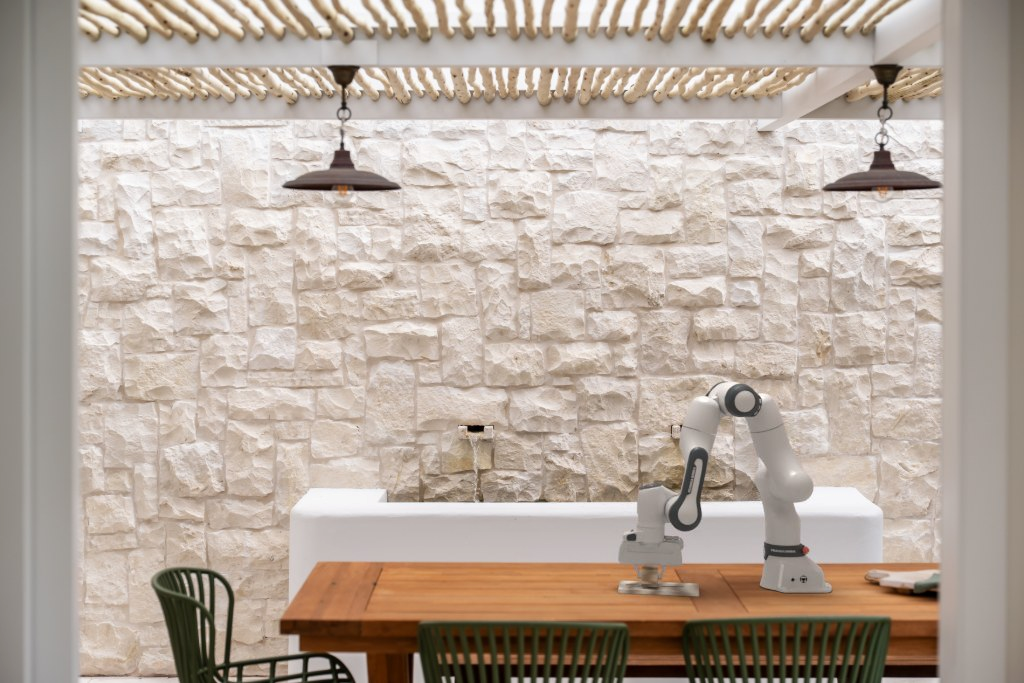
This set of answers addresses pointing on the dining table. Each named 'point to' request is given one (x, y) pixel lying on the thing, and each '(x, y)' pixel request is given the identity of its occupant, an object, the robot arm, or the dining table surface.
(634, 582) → the plank
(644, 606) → the dining table surface
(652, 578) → the beige brown jar
